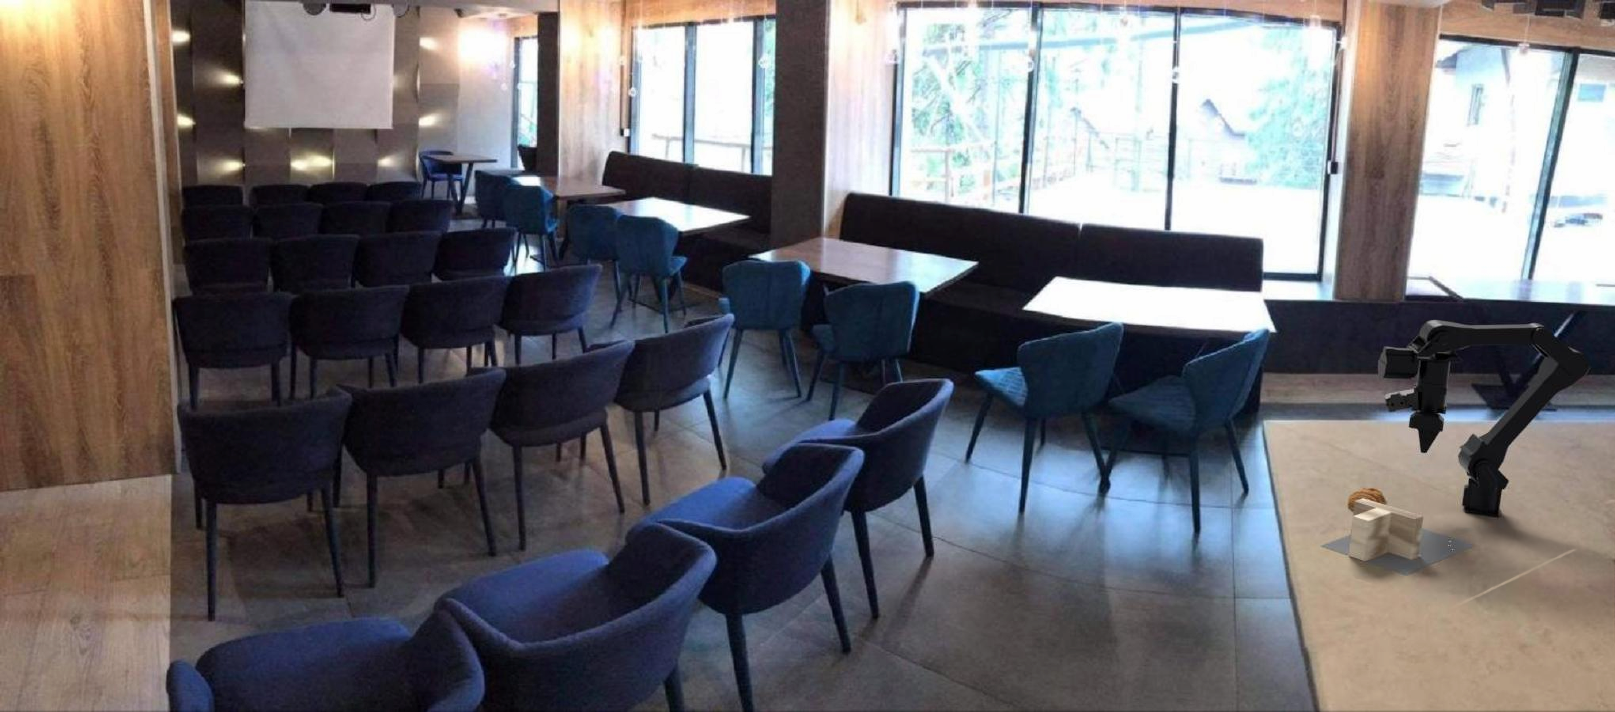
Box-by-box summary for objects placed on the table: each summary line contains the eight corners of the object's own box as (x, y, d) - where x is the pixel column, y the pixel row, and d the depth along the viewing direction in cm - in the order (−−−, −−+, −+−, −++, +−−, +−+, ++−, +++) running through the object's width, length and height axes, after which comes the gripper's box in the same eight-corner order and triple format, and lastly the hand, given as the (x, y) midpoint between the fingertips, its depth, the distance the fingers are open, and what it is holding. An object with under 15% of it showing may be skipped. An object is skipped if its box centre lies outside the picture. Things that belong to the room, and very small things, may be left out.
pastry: (1372, 518, 243) (1373, 500, 242) (1338, 510, 248) (1340, 493, 247) (1388, 507, 250) (1389, 490, 249) (1355, 499, 254) (1357, 483, 253)
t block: (1358, 536, 231) (1362, 498, 230) (1418, 555, 222) (1423, 516, 220) (1326, 548, 225) (1331, 509, 223) (1387, 568, 216) (1391, 528, 214)
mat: (1391, 521, 241) (1391, 519, 241) (1475, 546, 227) (1476, 544, 227) (1320, 547, 227) (1320, 545, 226) (1405, 577, 213) (1406, 574, 213)
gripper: (1393, 367, 255) (1385, 436, 259) (1386, 385, 239) (1377, 458, 243) (1450, 373, 250) (1441, 443, 253) (1447, 392, 234) (1438, 466, 237)
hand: (1423, 452), depth 247 cm, fingers closed
